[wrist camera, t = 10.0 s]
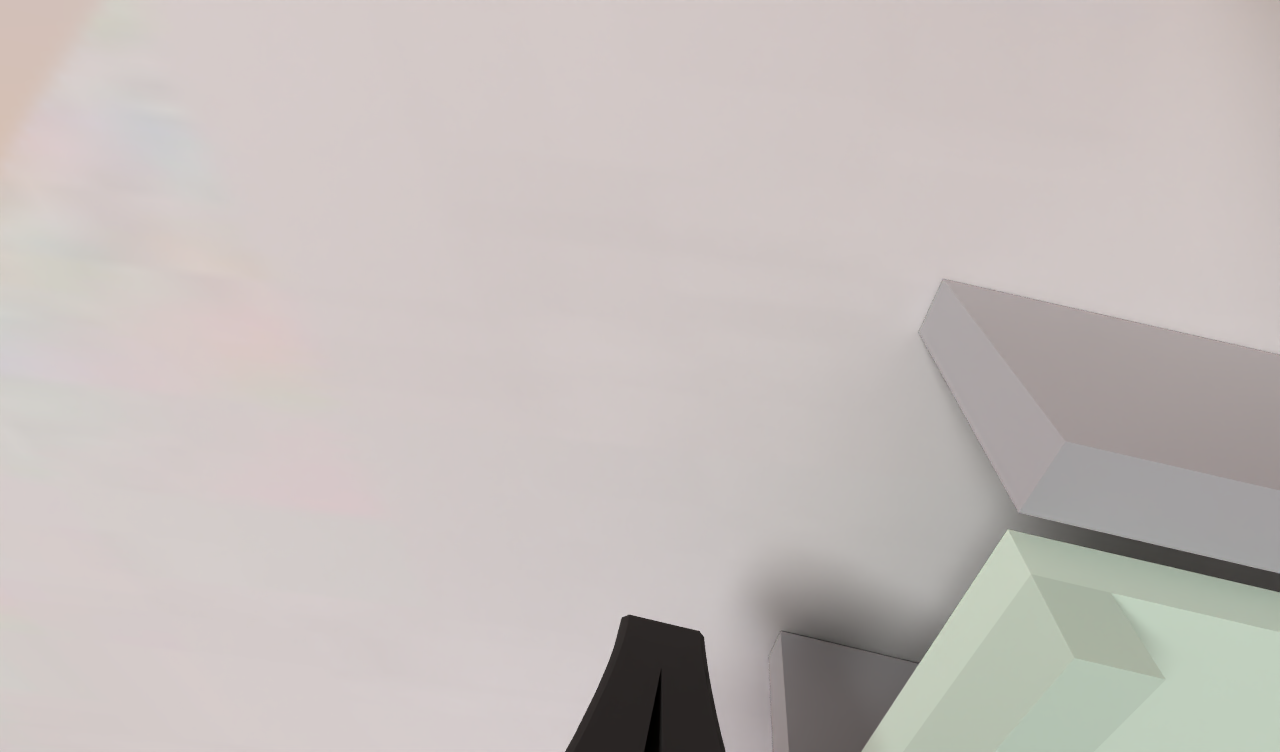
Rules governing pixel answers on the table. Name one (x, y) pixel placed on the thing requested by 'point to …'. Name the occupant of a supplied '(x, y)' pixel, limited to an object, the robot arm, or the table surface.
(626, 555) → the table surface
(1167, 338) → the housing
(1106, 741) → the lid
